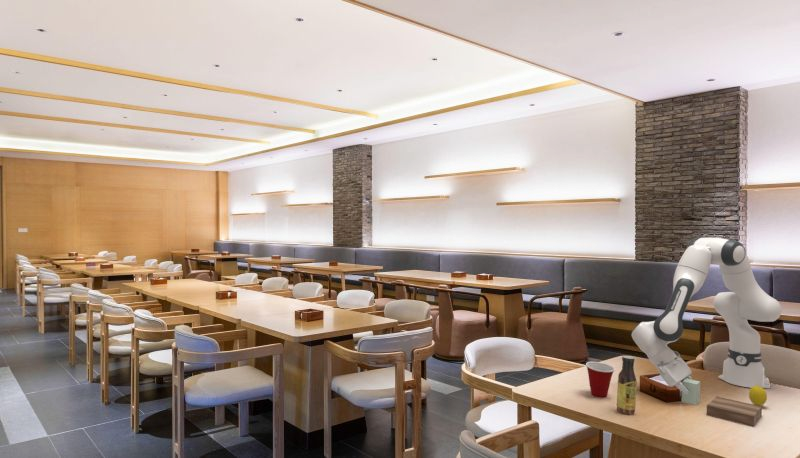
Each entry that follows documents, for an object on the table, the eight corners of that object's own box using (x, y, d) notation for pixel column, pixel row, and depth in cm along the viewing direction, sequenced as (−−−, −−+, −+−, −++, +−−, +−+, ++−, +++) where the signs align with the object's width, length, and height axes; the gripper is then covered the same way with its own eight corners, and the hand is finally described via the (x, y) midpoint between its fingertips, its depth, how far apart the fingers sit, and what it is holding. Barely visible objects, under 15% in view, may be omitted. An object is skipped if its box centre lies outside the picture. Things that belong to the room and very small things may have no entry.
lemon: (769, 409, 187) (770, 388, 187) (752, 408, 188) (753, 387, 188) (762, 404, 193) (762, 383, 192) (745, 403, 194) (746, 382, 194)
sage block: (685, 398, 197) (686, 378, 197) (699, 402, 194) (700, 381, 194) (681, 401, 194) (682, 381, 194) (696, 405, 190) (696, 384, 190)
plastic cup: (604, 402, 191) (605, 371, 191) (579, 394, 200) (580, 364, 200) (619, 397, 198) (620, 366, 197) (595, 389, 206) (595, 360, 206)
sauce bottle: (627, 416, 177) (628, 360, 177) (612, 410, 183) (614, 356, 183) (639, 413, 180) (641, 358, 180) (624, 407, 186) (626, 354, 186)
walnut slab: (716, 406, 190) (716, 396, 190) (761, 417, 180) (761, 406, 180) (706, 416, 180) (706, 405, 180) (753, 428, 171) (753, 416, 171)
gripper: (662, 360, 192) (689, 392, 185) (678, 351, 206) (705, 380, 199) (649, 369, 195) (676, 400, 188) (666, 359, 209) (692, 388, 203)
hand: (691, 390), depth 194 cm, fingers open, 8 cm apart
